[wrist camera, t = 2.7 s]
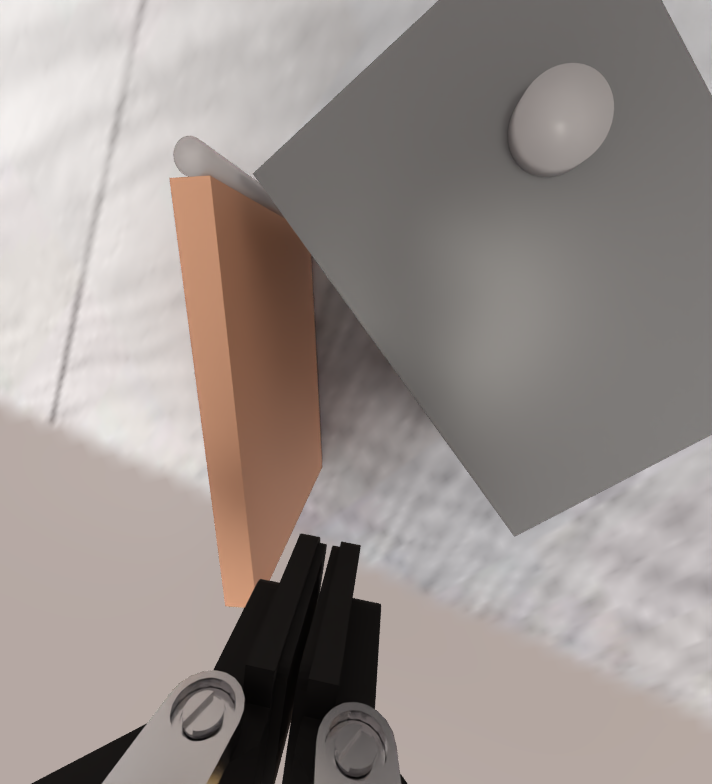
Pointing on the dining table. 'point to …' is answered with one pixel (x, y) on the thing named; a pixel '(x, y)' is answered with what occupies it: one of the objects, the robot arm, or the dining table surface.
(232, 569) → the door
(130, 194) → the dining table surface
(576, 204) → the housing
